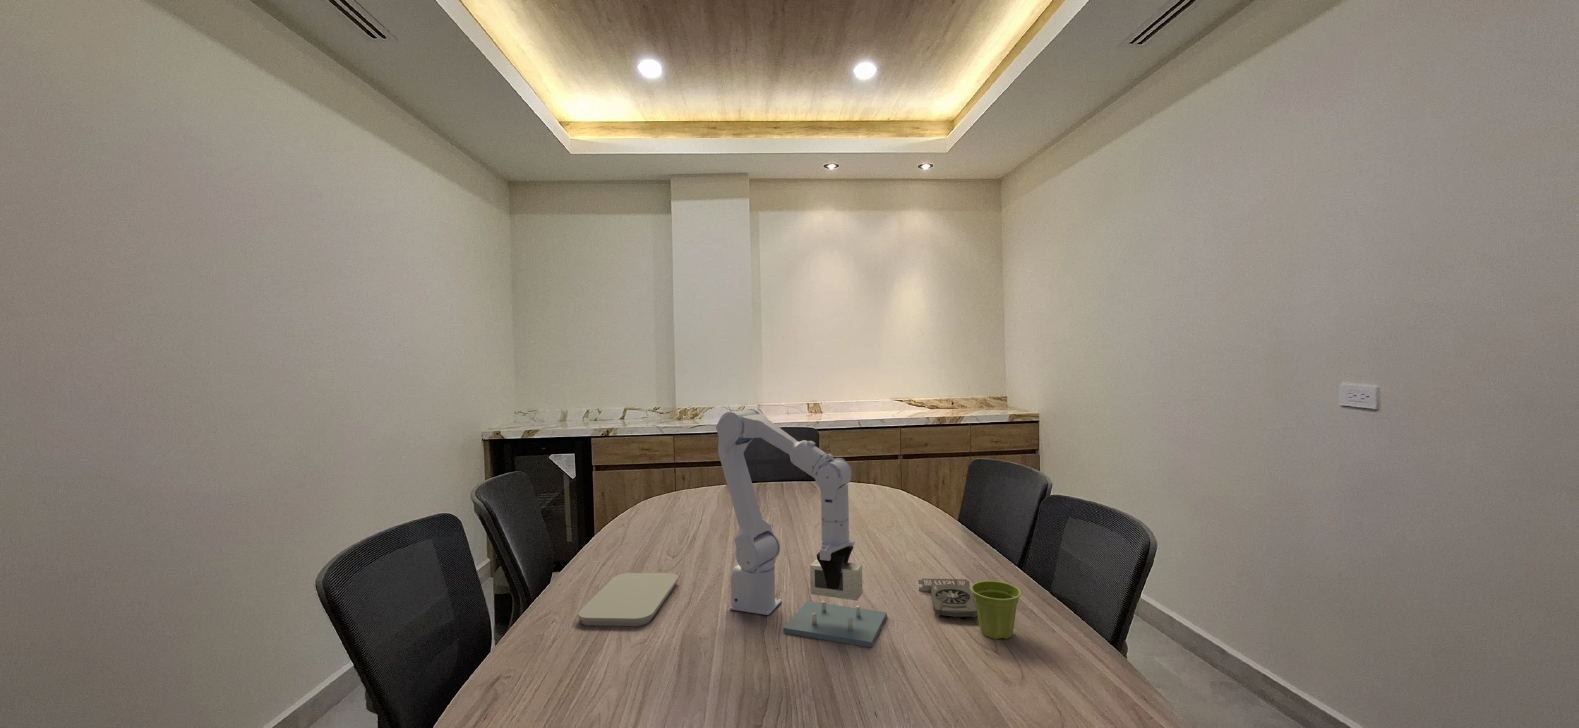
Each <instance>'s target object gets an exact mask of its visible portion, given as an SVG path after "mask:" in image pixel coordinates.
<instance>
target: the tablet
mask: <svg viewBox="0 0 1579 728" xmlns="http://www.w3.org/2000/svg"><path fill="white" fill-rule="evenodd" d="M678 581H679V576H678V574H675V573H671V572H670V573H669V572H667V573H666V572H665V573H664V572H660V573H659V572H626V573H625V572H624V573H621V574H618V575H615V576H614V577H612V578H611V580H610V581H608V582H607V583H606V584H605V585H604V586H603V587H602V588H601V589H600V590H599V591H598V592H596V594H595V595H594V596H593V597H592V598H591V599H590V600H589V601H588V602H587V603H586V604H585V605H584V606H583V607H582V608H581V609H580V610H579V611H578V613H577V618H578V619H579V620H581V624H582V625H585V626H607V627H608V626H616V627H618V626H620V627H621V626H622V627H639V626H645V625H646V624H648V623H650V622H651V621H652V619H653V618H654V616H655V615H656V614H657V612H658V611H659V610H660V608H661V606H662V605H663V604H664V602H665V601H666V600H667V597H668V596H669V595H670V594H671V592H672V591H673V589H674V588H675V587H676V584H677V582H678Z"/></svg>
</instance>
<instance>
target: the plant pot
mask: <svg viewBox="0 0 1579 728" xmlns="http://www.w3.org/2000/svg"><path fill="white" fill-rule="evenodd" d="M970 590H971V592H972V596H973V599H974V602H975V605H976V608H977V618H978V623H979V628H980V629H979V631H981V633H982V634H983V635H984V636H985V637H988V638H991V639H994V640H999V639H1005V640H1007V639H1010V638H1012V637H1013V635H1014V629H1015V620H1016V612H1017V606H1018V605H1017V604H1018V603H1019V598H1020V597H1022V591H1021V590H1020V588H1019V587H1017V586H1015V585H1013V584H1011V583H1007V582H1004V581H997V580H983V581H982V580H981V581H977V582H975V583H973V584H972V585H970Z"/></svg>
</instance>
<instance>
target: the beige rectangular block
mask: <svg viewBox="0 0 1579 728" xmlns="http://www.w3.org/2000/svg"><path fill="white" fill-rule="evenodd" d="M809 570H810V571H809V575H810V579H809V580H810V581H809V582H810V583H809V584H810V595H815V596H821V597H829V598H837V599H842V600H843V599H844V600H852V601H859V599H860V598H861V596H862V595H863V564H862V563H854V562H848V563H847V562H843V563H842V567H841V571H840V580H839V586H838V589H829V588H827V585H826V581H825V576H824V573H823V570H822V567H821V565H820V563H819V562H818V560H817V558H816V559H815V560H813V562H812V563H811V564H810V565H809Z"/></svg>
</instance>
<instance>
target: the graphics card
mask: <svg viewBox="0 0 1579 728" xmlns="http://www.w3.org/2000/svg"><path fill="white" fill-rule="evenodd" d="M935 581H936V582H935ZM939 582H940V583H939ZM949 582H950V583H949ZM953 582H954V584H953ZM936 583H937V584H936ZM970 583H971V582H970V579H961V578H929V577H928V578H926V577H925V578H924V577H923V578H922V579H918V584H919V585H922V586H918V591H919V592H929V593H930V594H931V599H932V600H931V602H932V609H933V611H934V614H935V615H936V616H939V617H940V616H948V617H955V618H956V619H959V620H960V619H961V620H966V619H967V618H966V617H972V618H975V617H978V612H977V609H976V608H977V606H976V601H975V598H974V595H973V592H972V591H971V584H970Z"/></svg>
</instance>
